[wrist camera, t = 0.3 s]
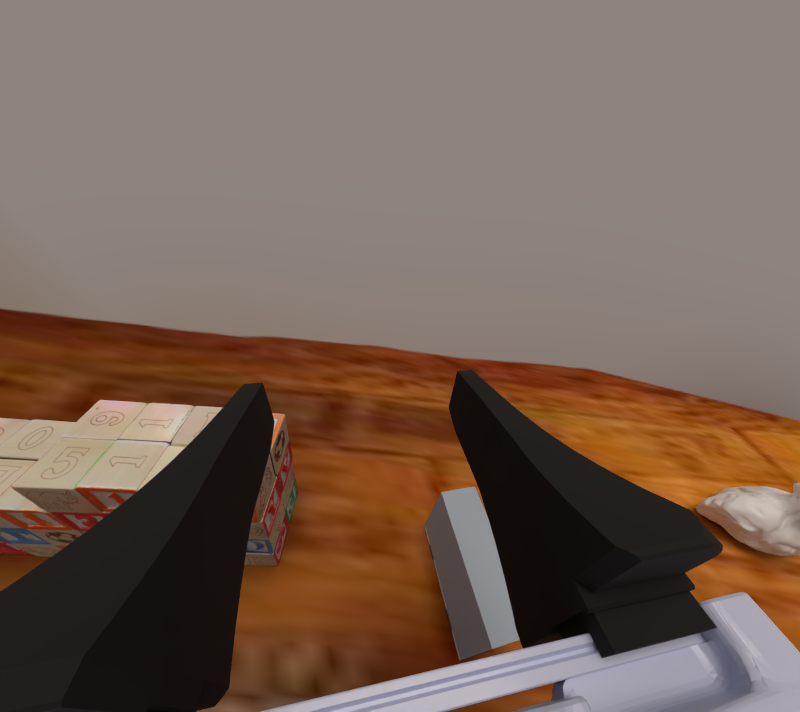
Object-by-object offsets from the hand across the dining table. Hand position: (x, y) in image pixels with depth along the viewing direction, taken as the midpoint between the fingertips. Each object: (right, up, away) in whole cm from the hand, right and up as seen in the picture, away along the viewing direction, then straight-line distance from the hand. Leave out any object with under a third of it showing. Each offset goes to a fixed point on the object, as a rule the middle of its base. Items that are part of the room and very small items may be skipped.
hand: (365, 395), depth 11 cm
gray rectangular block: (+6, -18, +13) cm, 23 cm away
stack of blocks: (-19, -13, +14) cm, 27 cm away
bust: (+39, -18, +21) cm, 48 cm away
